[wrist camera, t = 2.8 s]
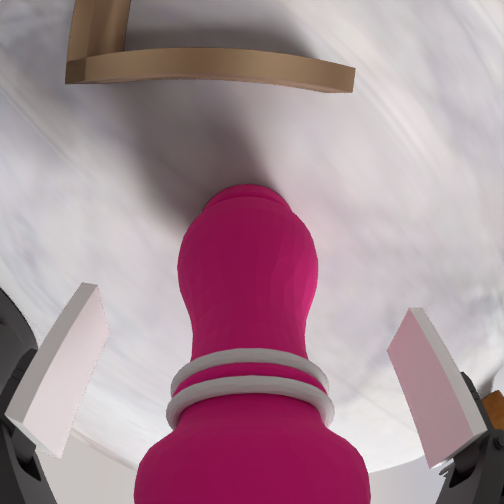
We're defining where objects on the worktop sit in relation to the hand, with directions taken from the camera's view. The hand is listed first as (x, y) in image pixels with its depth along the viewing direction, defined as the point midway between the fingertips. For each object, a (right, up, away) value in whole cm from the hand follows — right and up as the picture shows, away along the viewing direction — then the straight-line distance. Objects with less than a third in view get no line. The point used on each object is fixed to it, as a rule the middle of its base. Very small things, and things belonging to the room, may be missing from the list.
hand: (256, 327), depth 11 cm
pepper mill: (0, +5, +8) cm, 9 cm away
